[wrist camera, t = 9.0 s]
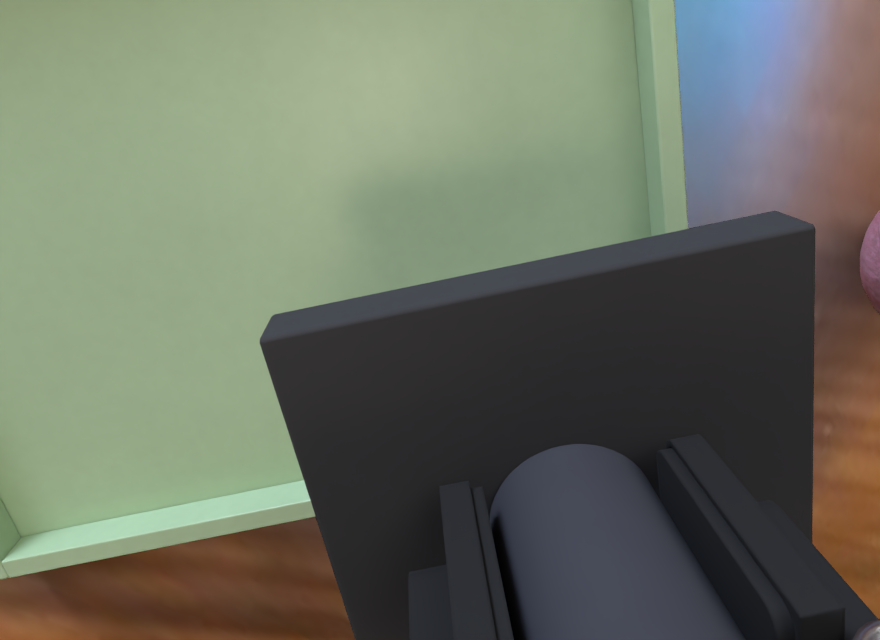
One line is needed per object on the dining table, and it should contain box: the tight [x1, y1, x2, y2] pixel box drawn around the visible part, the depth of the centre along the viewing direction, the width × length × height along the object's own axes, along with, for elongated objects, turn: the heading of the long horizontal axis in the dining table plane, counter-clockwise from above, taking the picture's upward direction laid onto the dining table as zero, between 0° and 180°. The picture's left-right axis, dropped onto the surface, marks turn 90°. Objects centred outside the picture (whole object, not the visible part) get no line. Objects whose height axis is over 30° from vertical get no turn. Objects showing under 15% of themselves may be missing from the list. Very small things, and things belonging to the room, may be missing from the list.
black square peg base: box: [260, 211, 815, 640], centre depth 10 cm, size 9×9×6 cm
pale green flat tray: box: [0, 0, 688, 579], centre depth 22 cm, size 28×24×2 cm
